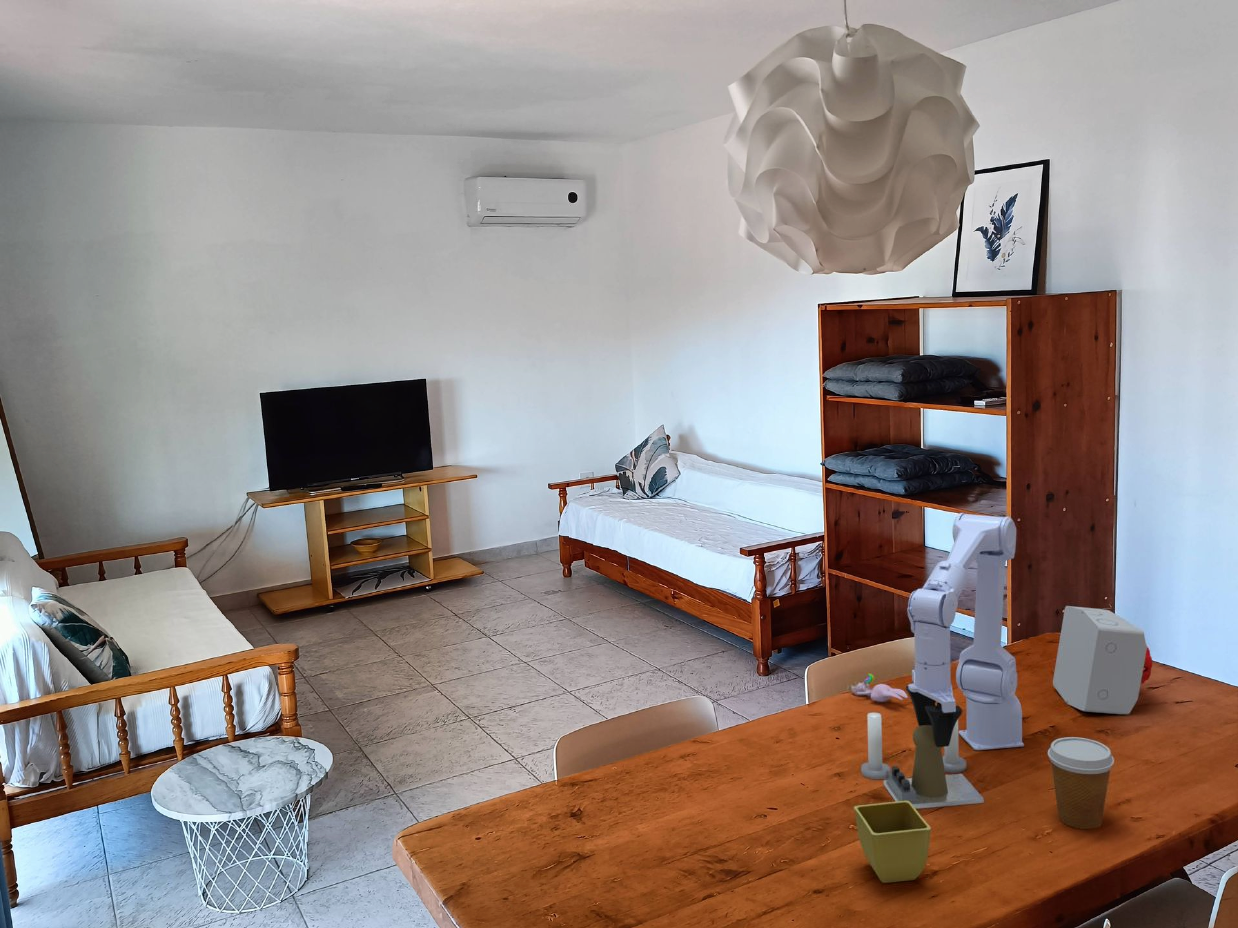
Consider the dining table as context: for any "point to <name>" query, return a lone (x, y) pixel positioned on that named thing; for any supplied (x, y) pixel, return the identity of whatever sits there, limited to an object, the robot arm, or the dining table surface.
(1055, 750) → the disposable coffee cup
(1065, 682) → the electrical switch box
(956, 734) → the post
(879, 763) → the post
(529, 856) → the dining table surface
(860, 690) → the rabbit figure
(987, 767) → the dining table surface
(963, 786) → the board
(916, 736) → the cork
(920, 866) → the flower pot
